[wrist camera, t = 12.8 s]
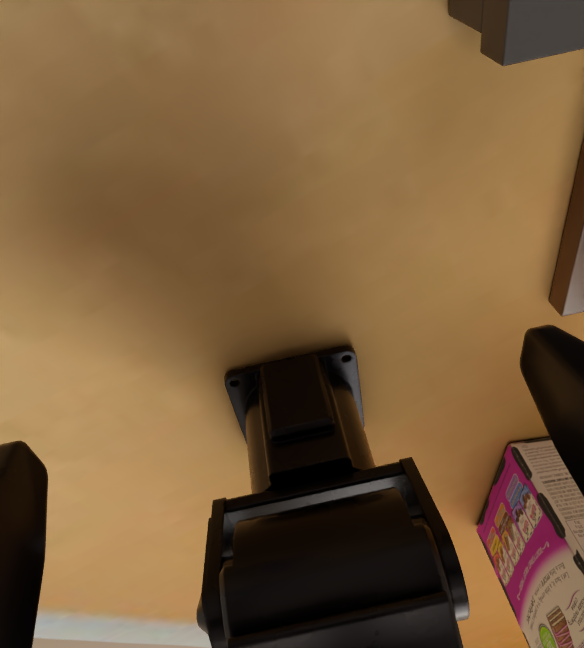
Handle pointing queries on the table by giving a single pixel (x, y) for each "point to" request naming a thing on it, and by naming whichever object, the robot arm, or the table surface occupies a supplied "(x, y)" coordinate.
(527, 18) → the tv stand
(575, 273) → the hat stand
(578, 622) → the candy bar box
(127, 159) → the table surface
